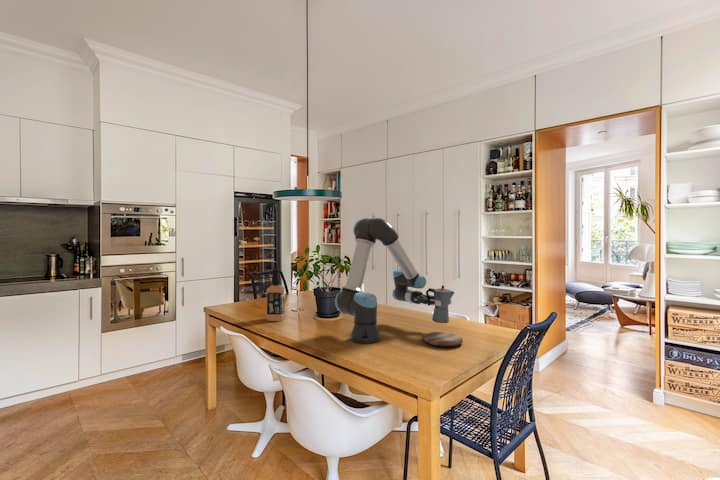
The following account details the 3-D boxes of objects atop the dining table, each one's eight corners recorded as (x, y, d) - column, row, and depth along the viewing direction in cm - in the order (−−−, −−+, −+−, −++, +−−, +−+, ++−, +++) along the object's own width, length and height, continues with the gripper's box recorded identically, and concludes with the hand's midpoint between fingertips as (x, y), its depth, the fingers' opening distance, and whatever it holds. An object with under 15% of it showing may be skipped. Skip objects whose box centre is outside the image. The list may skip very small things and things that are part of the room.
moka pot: (454, 324, 200) (455, 287, 199) (425, 323, 203) (425, 286, 202) (454, 319, 209) (454, 284, 208) (425, 318, 212) (426, 283, 211)
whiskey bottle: (281, 321, 230) (281, 269, 229) (265, 321, 230) (265, 269, 229) (285, 317, 240) (285, 267, 239) (270, 317, 240) (269, 267, 239)
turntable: (415, 339, 188) (415, 336, 188) (439, 332, 200) (439, 330, 200) (446, 348, 174) (446, 345, 174) (470, 340, 186) (470, 338, 186)
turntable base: (422, 342, 188) (422, 340, 188) (440, 337, 197) (440, 335, 197) (445, 349, 177) (445, 346, 177) (463, 343, 186) (463, 341, 186)
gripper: (426, 301, 227) (457, 307, 210) (401, 305, 214) (432, 311, 196) (426, 289, 227) (457, 294, 210) (402, 292, 214) (433, 297, 196)
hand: (445, 302), depth 203 cm, fingers closed on moka pot, 8 cm apart
